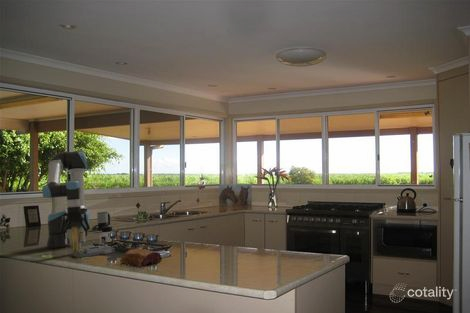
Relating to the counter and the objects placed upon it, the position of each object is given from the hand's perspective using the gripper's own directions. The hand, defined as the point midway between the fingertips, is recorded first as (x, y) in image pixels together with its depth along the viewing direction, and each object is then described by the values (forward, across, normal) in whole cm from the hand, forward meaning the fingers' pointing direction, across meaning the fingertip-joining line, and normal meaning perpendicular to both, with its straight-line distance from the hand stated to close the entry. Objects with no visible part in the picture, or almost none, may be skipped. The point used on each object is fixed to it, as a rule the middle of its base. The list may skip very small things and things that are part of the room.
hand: (75, 242), depth 276 cm
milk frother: (+6, +40, +104) cm, 112 cm away
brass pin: (+6, 0, 0) cm, 6 cm away
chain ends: (+6, +8, -12) cm, 16 cm away
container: (+7, +22, +10) cm, 25 cm away
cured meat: (+7, +22, -55) cm, 59 cm away
